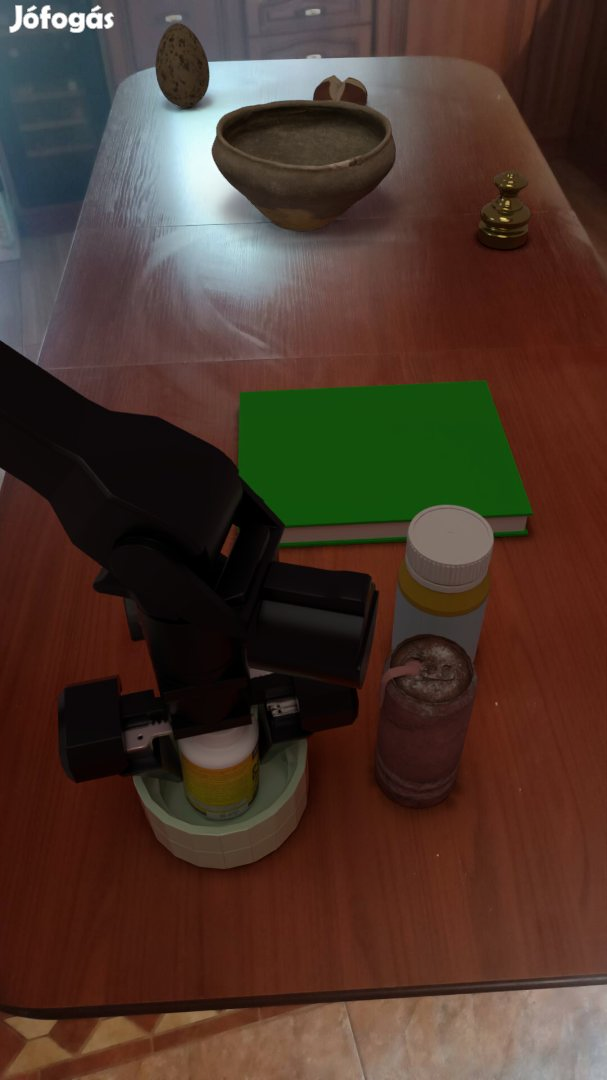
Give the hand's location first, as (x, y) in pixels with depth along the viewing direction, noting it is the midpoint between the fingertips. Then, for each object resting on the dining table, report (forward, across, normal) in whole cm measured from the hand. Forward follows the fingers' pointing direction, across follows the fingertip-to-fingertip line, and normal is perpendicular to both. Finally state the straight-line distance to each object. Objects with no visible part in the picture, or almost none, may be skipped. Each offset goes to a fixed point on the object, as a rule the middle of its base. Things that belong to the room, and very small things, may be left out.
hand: (221, 767), depth 58 cm
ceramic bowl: (+4, 0, 0) cm, 4 cm away
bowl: (+4, -28, -95) cm, 99 cm away
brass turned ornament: (+4, -55, -79) cm, 96 cm away
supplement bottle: (+3, 0, 0) cm, 3 cm away
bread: (+4, -47, -144) cm, 152 cm away
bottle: (+4, -19, -8) cm, 21 cm away
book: (+4, -21, -33) cm, 39 cm away
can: (+4, -14, +2) cm, 15 cm away
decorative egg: (+4, -16, -153) cm, 154 cm away
